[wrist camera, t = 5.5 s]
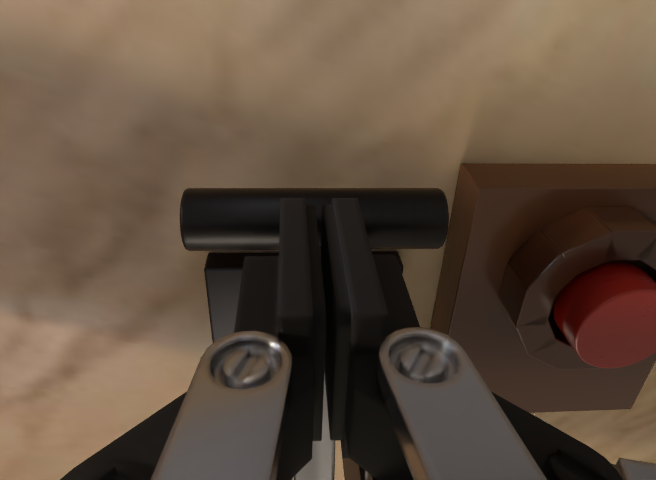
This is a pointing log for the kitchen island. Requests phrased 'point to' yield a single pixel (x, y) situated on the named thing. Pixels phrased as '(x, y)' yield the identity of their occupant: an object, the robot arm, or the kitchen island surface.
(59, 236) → the kitchen island surface
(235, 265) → the bracket
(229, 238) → the tap lever
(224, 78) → the kitchen island surface
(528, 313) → the button block
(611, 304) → the button
